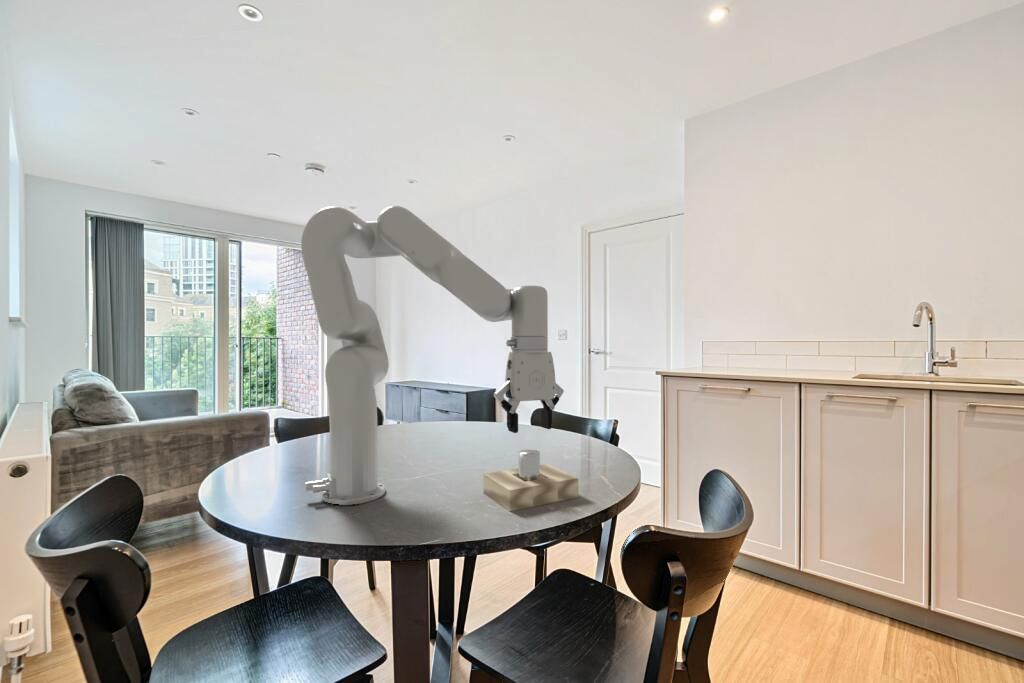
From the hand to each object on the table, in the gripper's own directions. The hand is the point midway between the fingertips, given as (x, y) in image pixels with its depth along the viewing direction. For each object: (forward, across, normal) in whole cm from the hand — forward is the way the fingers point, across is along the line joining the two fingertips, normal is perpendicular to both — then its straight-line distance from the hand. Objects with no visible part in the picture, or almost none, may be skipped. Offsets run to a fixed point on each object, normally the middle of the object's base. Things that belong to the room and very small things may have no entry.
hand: (529, 429), depth 94 cm
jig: (+14, 0, 0) cm, 14 cm away
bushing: (+14, 0, 0) cm, 14 cm away
